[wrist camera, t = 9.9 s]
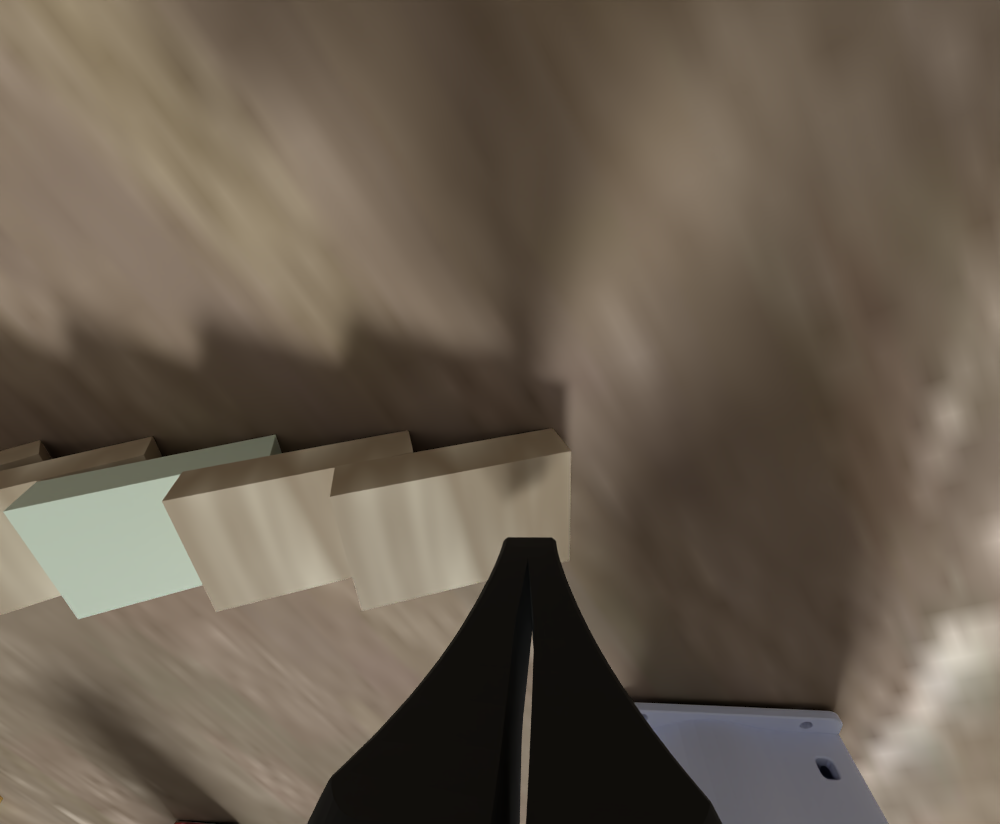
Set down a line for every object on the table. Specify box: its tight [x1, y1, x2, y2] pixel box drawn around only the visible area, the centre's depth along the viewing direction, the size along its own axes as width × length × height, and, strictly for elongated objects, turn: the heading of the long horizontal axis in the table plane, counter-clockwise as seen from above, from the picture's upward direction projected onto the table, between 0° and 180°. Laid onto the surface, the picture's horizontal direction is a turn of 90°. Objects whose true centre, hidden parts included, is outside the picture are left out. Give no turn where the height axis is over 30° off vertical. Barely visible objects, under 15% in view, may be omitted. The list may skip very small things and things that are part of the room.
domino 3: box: [162, 431, 413, 612], centre depth 15 cm, size 2×4×7 cm
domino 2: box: [3, 435, 282, 619], centre depth 15 cm, size 2×4×7 cm
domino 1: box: [0, 436, 162, 615], centre depth 15 cm, size 2×4×7 cm
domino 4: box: [330, 428, 571, 611], centre depth 14 cm, size 2×4×7 cm
